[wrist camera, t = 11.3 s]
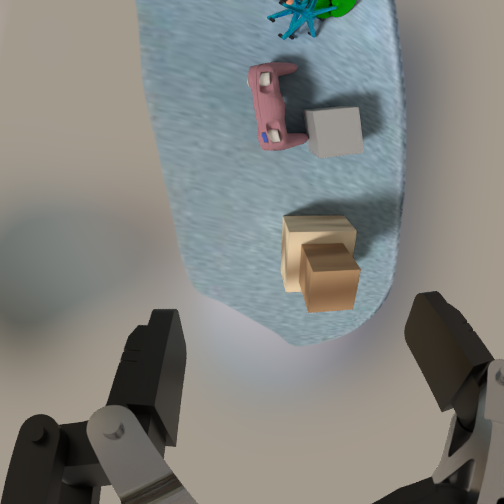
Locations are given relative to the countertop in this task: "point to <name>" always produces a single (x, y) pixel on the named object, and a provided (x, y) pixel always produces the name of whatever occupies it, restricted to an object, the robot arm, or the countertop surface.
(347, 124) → the grey cube
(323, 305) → the walnut block
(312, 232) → the birch block
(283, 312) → the countertop surface
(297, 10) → the stick construction toy
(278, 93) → the video game controller
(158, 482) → the robot arm
